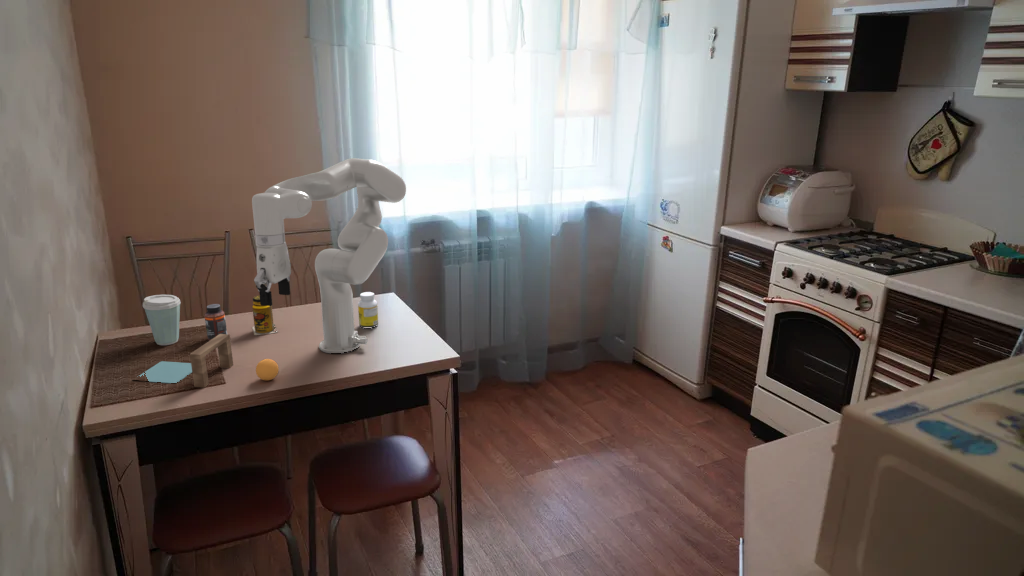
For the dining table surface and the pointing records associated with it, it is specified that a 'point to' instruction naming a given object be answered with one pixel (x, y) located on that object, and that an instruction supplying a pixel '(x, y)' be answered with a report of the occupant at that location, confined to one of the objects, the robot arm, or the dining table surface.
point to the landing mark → (168, 372)
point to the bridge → (199, 355)
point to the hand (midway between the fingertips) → (275, 299)
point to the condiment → (262, 318)
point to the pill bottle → (368, 310)
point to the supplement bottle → (215, 321)
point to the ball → (267, 369)
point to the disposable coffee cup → (163, 317)
